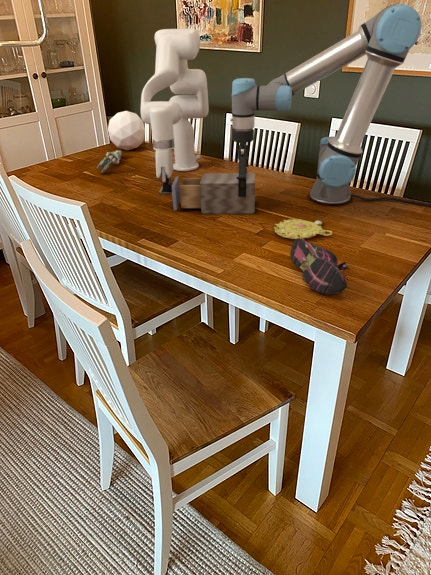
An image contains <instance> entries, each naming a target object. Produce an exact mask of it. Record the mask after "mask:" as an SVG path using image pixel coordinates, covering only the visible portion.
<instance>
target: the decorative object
mask: <svg viewBox="0 0 431 575" xmlns="http://www.w3.org/2000/svg"><path fill="white" fill-rule="evenodd" d="M322 225H323V221H321V220H314V222H313V221H310V220H304V219H303V218H292V219H283V221H279V223H274V227H273V229H274V233H276V234H277V236H279V237H282V238H284V239H285V238H286V239H290V240H296V239H298V238H300V239H304V240H305V239H310V238H313V237H315V236H317V235H319V236H320V235H321V236H325V237H329V236H331V235H333V231H332V230H325V229H323V227H322ZM326 233H327V234H326Z"/></svg>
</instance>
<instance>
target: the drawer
mask: <svg viewBox="0 0 431 575" xmlns="http://www.w3.org/2000/svg"><path fill="white" fill-rule="evenodd" d="M201 178H202V177H182V184H180V176H175V177H174V180H173V181H172V192H163V185H162V186H161V187H160V189H159V191H158V195H159V196H162V195H164V194H171V196H172V206H173V211H177V210H178V208H179V205H180V208H181V209H201V195H200V182H201Z"/></svg>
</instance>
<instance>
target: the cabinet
mask: <svg viewBox="0 0 431 575" xmlns="http://www.w3.org/2000/svg"><path fill="white" fill-rule="evenodd" d="M238 176H239V172H225V173H224V172H209V173H208V172H207V173H205V172H204V173H202V176H201V177H200V178H201V182H200V195H201V208H200V211H201V214H242V215H243V214H247V215H248V214H252V215H253V214H256V173H255V172H247V173H246V197H238V179H237V177H238ZM240 176H244V175H240Z"/></svg>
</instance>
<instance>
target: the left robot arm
mask: <svg viewBox="0 0 431 575" xmlns="http://www.w3.org/2000/svg"><path fill="white" fill-rule="evenodd" d="M154 42H155V46H156V48H155V50H156V51H155V64H154V65H155V67H154V68H155V69H154V74H153V75H152V76H151V77H150V78H149V79H148V80H147V82H146V84H145V85H144V86H143V88H142V90H141V96H140V119H141V120H142V121H143V123H145V125H150V128H151V138H152V148H153V150H154V151H155V174H156V178H157V179H160V178H161V182H162V183H161V184H162V186H163V192H172V184H173V182H172V174H173V173H174V171H177V172H189V171H190V172H191V171H194V170H197V169H198V168H199V167H200V165H199V163H198V162H197V161H198V160H200V159H201V158H202V156H201V155H200V154H197V155H196V152H195V150H196V148H195V131H194V127H193V124H192V123H191V122H190V121H189V120H190V119H205V118H207V117H208V115H209V110H210V108H209V107H210V106H209V92H208V91H209V90H208V80H207V75H206V73H205V71H204V70H202V69H199V68H189V66H188V65H189V64H188V61H189V60H191V61H192V60H195V58H196V57H197V56H198V53H199V52H200V49H201V36H200V33H199V31H198V30H197V29H195V28H164V29H163V28H162V29H159V30H157V31H156V32H155V33H154ZM168 87H169V89H170V91H171V93H173V94H176V95H173V96H171V97H170V99H169V100H168V101H164V100H163V101H162V100H161V101H158V100H157V101H151V100H152V99H153V97H154V96H155V95H157V93H159V92H160V91H163V90H164V89H167V88H168ZM173 154H174V155H173ZM163 195H164V196H165V195H167V196H168V195H169V196H172V194H163Z"/></svg>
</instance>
